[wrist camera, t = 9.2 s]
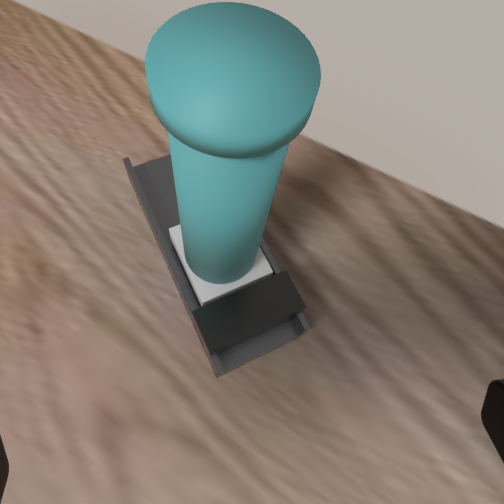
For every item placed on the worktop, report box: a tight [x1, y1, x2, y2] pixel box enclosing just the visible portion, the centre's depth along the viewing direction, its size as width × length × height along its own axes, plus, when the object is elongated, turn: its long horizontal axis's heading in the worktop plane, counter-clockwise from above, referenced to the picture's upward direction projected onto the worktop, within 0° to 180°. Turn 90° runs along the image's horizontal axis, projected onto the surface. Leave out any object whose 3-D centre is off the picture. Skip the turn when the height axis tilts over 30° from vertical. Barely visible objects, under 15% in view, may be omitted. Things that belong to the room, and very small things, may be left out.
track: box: [123, 155, 311, 377], centre depth 22 cm, size 12×5×3 cm, turn 26°
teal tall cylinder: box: [145, 2, 321, 307], centre depth 15 cm, size 4×4×13 cm
